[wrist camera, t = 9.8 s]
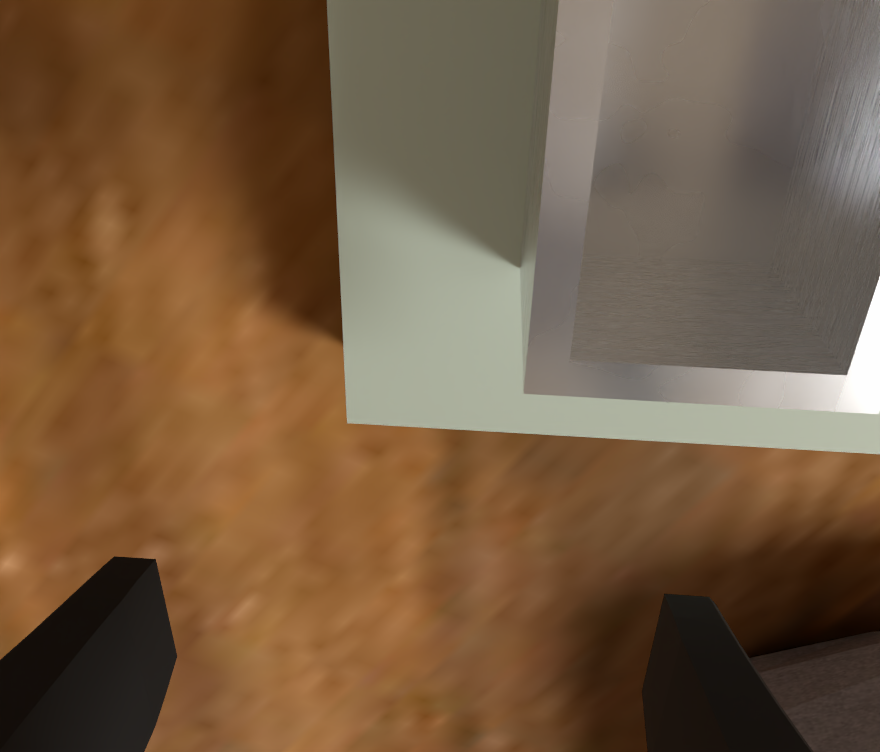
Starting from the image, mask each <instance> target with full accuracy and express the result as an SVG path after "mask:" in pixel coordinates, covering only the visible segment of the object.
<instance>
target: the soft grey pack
mask: <svg viewBox="0 0 880 752" xmlns="http://www.w3.org/2000/svg"><path fill="white" fill-rule="evenodd" d="M749 659H750V660H751V662H752V663H753V665H754V667H755V668H756V670H757V671H758V673H759V674H760V676H761V677H762V679H763V680H764V682H765V683H766V685H767V686H768V688H769V689H770V691H771V692H772V694H773V695H774V697H775V698H776V700H777V701H778V702H779V704H780V705H781V707H782V708H783V710H784V711H785V712H786V714H787V715H788V717H789V718H790V720H791V721H792V722H793V724H794V725H795V727H796V728H797V729H798V731H799V732H800V734H801V735H802V736H803V738H804V739H805V741H806V742H807V743H808V745H809V746H810V748H811V749H812V750H813V752H880V631H876V632H869V633H863V634H859V635H854V636H849V637H845V638H840V639H835V640H831V641H826V642H821V643H817V644H812V645H808V646H803V647H798V648H794V649H789V650H784V651H780V652H775V653H770V654H766V655H761V656H756V657H752V658H749Z"/></svg>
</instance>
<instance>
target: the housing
mask: <svg viewBox="0 0 880 752" xmlns="http://www.w3.org/2000/svg"><path fill="white" fill-rule="evenodd" d="M520 288H521V323H522V357H523V391H524V394H535V395H553V396H570V397H588V398H605V399H622V400H640V401H657V402H674V403H692V404H709V405H727V406H744V407H761V408H779V409H796V410H814V411H831V412H848V413H866V414H879V411H880V0H541V9H540V22H539V35H538V47H537V60H536V72H535V85H534V97H533V110H532V123H531V135H530V148H529V160H528V173H527V186H526V198H525V211H524V223H523V236H522V249H521V261H520Z"/></svg>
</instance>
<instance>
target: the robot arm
mask: <svg viewBox="0 0 880 752" xmlns="http://www.w3.org/2000/svg"><path fill="white" fill-rule="evenodd" d="M176 658H177V653H176V649H175V644H174V640H173V635H172V631H171V626H170V622H169V617H168V613H167V608H166V604H165V599H164V595H163V590H162V586H161V581H160V577H159V572H158V568H157V563H156V559H144V558H129V557H113V558H112V559H111V560H110V561H109V562H108V563H106V564H105V565H104V566H103V567H102V568H101V569H100V570H99V571H97V572H96V573H95V574H94V575H93V576H92V577H91V578H90V579H89V580H88V581H87V582H85V583H84V584H83V585H82V586H81V587H80V588H79V589H78V590H77V591H76V592H75V593H74V594H72V595H71V596H70V597H69V598H68V599H67V600H66V601H65V602H64V603H63V604H62V605H61V606H60V607H58V608H57V609H56V610H55V611H54V612H53V613H52V614H51V615H50V616H49V617H48V618H46V619H45V620H44V621H43V622H42V623H41V624H40V625H39V626H38V627H37V628H36V629H35V630H33V631H32V632H31V633H30V634H29V635H28V636H27V637H26V638H25V639H23V640H22V641H21V642H20V643H19V644H18V645H17V646H16V647H14V648H13V649H12V650H11V651H10V652H9V653H8V654H7V655H5V656H4V657H3V658H2V659H1V660H0V752H144V751H145V749H146V746H147V744H148V742H149V739H150V737H151V735H152V733H153V730H154V728H155V725H156V722H157V719H158V716H159V713H160V710H161V707H162V704H163V701H164V698H165V695H166V692H167V688H168V685H169V682H170V678H171V675H172V672H173V668H174V665H175V662H176ZM642 696H643V707H644V718H645V729H646V738H647V748H648V752H813V750H812V749H811V748H810V746H809V745H808V743H807V742H806V741H805V739H804V738H803V736H802V735H801V734H800V732H799V731H798V729H797V728H796V727H795V725H794V724H793V722H792V721H791V720H790V718H789V717H788V715H787V714H786V712H785V711H784V710H783V708H782V707H781V705H780V704H779V702H778V701H777V700H776V698H775V697H774V695H773V694H772V692H771V691H770V689H769V688H768V686H767V685H766V683H765V682H764V680H763V679H762V677H761V676H760V674H759V673H758V671H757V670H756V668H755V667H754V665H753V663H752V662H751V660H750V659H749V657H748V656H747V654H746V653H745V651H744V649H743V648H742V646H741V645H740V643H739V642H738V640H737V638H736V637H735V635H734V634H733V632H732V630H731V629H730V627H729V625H728V624H727V622H726V621H725V619H724V617H723V616H722V614H721V612H720V611H719V609H718V607H717V606H716V604H715V603H714V602H713V601H712V600H711V599H710V597H702V596H687V595H672V594H664V598H663V602H662V606H661V611H660V615H659V619H658V624H657V628H656V632H655V637H654V641H653V645H652V650H651V654H650V659H649V663H648V667H647V672H646V676H645V680H644V685H643V689H642Z"/></svg>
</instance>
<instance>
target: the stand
mask: <svg viewBox="0 0 880 752" xmlns="http://www.w3.org/2000/svg"><path fill="white" fill-rule="evenodd" d="M540 9H541V0H327V16H328V36H329V57H330V78H331V99H332V119H333V140H334V161H335V182H336V202H337V223H338V244H339V265H340V285H341V306H342V327H343V348H344V368H345V389H346V410H347V423H355V424H373V425H390V426H407V427H424V428H441V429H458V430H475V431H492V432H510V433H527V434H544V435H561V436H578V437H595V438H612V439H629V440H646V441H664V442H681V443H698V444H715V445H732V446H749V447H766V448H783V449H801V450H818V451H835V452H852V453H869V454H880V411H879V414H866V413H848V412H831V411H814V410H796V409H779V408H761V407H744V406H727V405H709V404H692V403H674V402H657V401H640V400H622V399H605V398H588V397H570V396H553V395H535V394H524V391H523V357H522V323H521V288H520V261H521V249H522V236H523V223H524V211H525V198H526V186H527V173H528V160H529V148H530V135H531V123H532V110H533V97H534V85H535V72H536V60H537V47H538V35H539V22H540Z"/></svg>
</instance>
